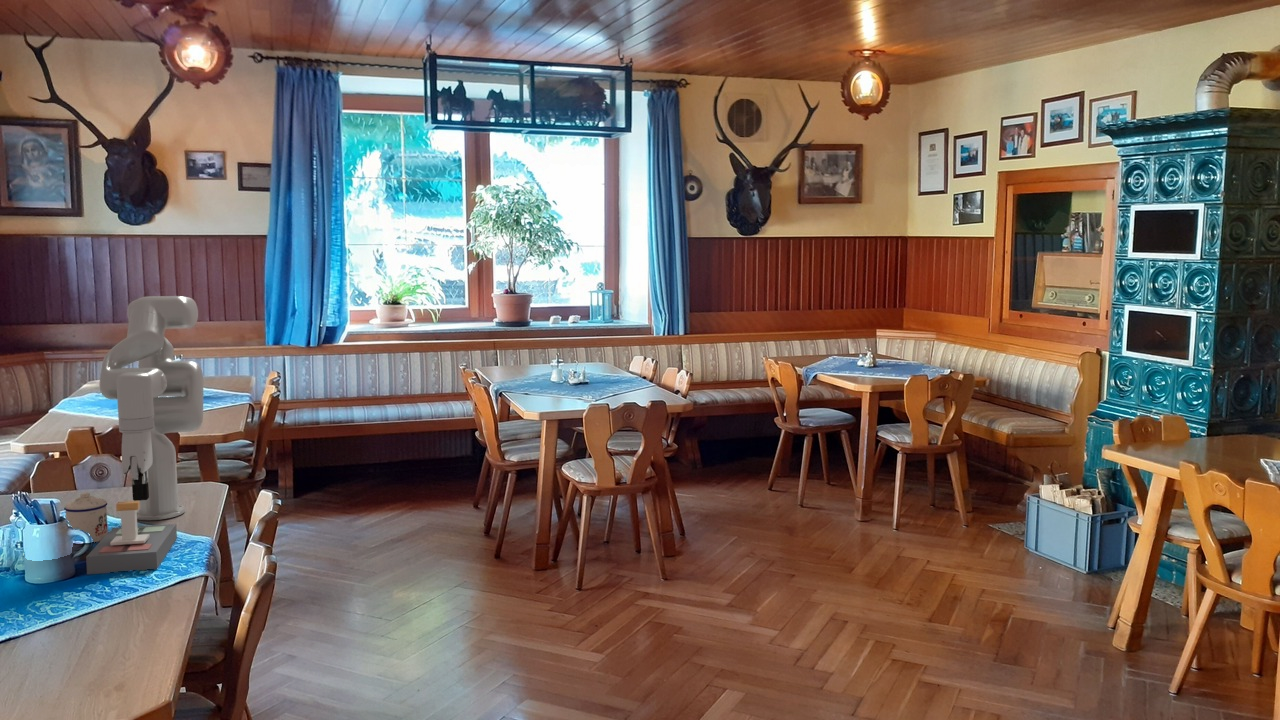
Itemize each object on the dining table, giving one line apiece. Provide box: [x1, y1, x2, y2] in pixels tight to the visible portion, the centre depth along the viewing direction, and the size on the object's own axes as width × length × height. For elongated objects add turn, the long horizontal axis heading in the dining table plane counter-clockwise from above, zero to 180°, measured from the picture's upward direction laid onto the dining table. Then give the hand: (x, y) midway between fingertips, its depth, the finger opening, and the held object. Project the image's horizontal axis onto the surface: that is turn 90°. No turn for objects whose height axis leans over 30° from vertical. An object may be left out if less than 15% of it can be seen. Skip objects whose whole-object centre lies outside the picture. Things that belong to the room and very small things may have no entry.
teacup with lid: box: [64, 491, 109, 544], centre depth 233 cm, size 12×9×12 cm
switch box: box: [85, 523, 178, 575], centre depth 220 cm, size 22×14×4 cm, turn 15°
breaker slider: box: [110, 500, 150, 545], centre depth 216 cm, size 5×7×9 cm
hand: (141, 499), depth 227 cm, fingers closed
